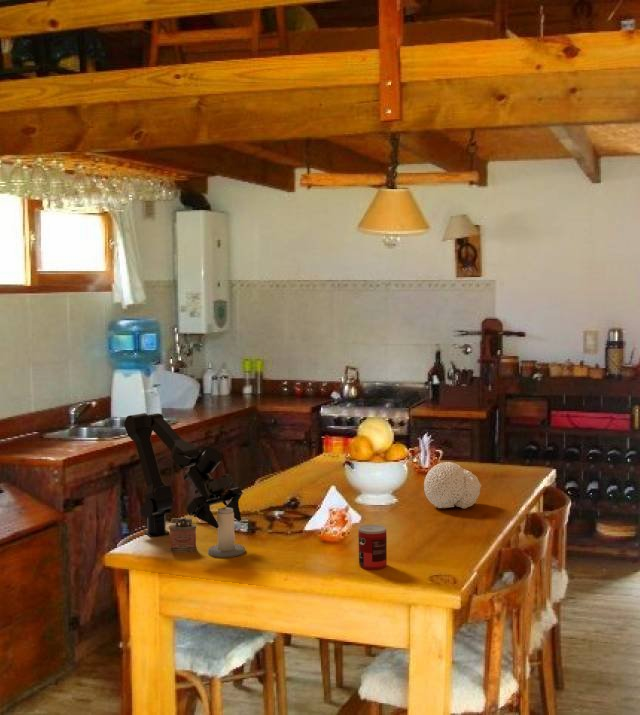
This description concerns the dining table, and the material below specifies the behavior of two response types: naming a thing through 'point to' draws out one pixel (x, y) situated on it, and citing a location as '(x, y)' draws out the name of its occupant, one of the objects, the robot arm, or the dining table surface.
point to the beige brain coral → (451, 486)
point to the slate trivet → (226, 554)
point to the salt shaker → (225, 529)
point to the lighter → (182, 535)
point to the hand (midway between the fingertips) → (229, 524)
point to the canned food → (372, 547)
